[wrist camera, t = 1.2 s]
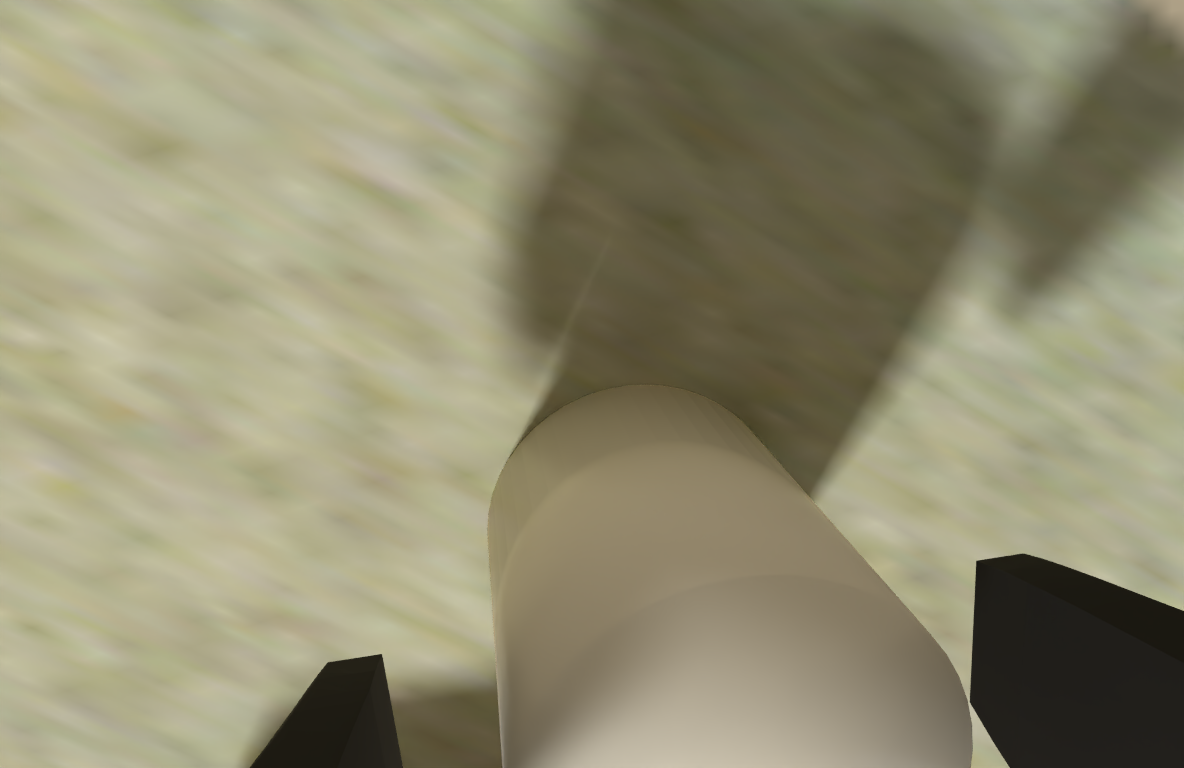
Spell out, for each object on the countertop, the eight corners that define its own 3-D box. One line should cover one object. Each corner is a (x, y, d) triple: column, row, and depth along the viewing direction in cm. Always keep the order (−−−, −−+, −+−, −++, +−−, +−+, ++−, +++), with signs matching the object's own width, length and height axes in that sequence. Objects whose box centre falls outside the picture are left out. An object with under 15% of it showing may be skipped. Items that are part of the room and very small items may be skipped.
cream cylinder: (775, 366, 14) (983, 540, 9) (783, 631, 16) (964, 929, 10) (468, 405, 14) (475, 617, 8) (505, 676, 15) (533, 1014, 10)
